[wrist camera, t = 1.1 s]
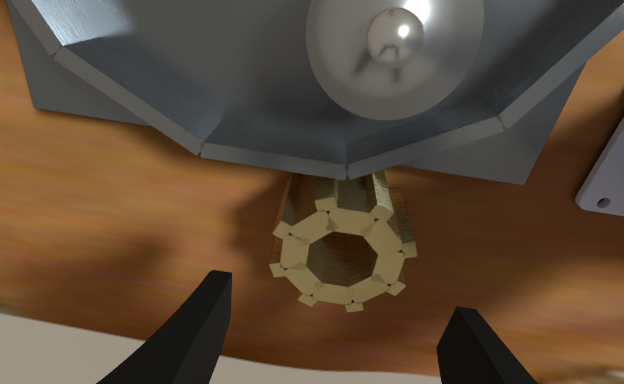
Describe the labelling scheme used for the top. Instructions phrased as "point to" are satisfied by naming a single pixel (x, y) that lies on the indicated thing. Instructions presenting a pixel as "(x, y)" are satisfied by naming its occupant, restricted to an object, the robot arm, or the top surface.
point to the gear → (342, 239)
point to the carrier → (322, 76)
